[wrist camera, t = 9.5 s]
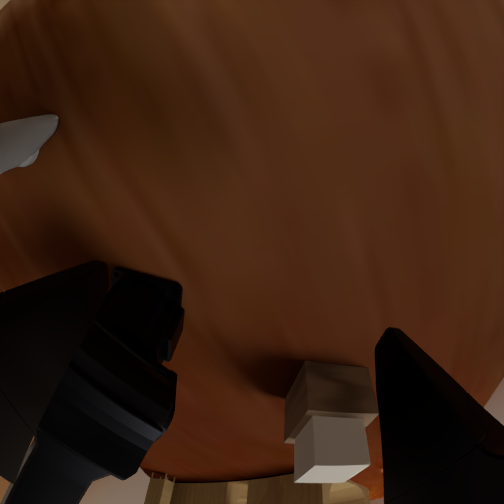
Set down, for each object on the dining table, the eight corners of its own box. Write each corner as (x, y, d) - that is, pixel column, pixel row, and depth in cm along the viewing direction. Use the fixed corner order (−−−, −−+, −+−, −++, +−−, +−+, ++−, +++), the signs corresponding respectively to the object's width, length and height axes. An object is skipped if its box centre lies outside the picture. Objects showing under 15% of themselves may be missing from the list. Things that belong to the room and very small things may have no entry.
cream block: (294, 439, 24) (293, 482, 19) (312, 415, 21) (314, 465, 17) (340, 441, 24) (343, 482, 19) (363, 418, 22) (370, 464, 17)
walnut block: (285, 397, 30) (284, 442, 24) (305, 359, 26) (308, 409, 21) (341, 403, 30) (346, 445, 24) (367, 367, 26) (379, 413, 21)
